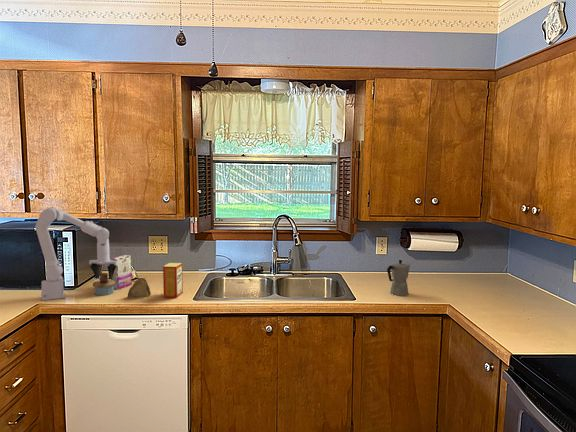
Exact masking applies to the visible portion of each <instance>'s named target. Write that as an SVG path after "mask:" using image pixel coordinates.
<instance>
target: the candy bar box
mask: <svg viewBox="0 0 576 432" xmlns="http://www.w3.org/2000/svg"><path fill="white" fill-rule="evenodd" d="M110 260H113V261H118V265H117V267H116V268H115V271H114V274H113V278H112V279H110V280H113V281H115V285H114V290H120V289H124V288H127V287H129V286H131V285H132V286H133V278H132V277H133V276H132V274H133V273H132V255H128V254H124V255H120V256H117V257H116V256H115V257H112V258H110Z"/></svg>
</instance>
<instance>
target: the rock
mask: <svg viewBox="0 0 576 432" xmlns="http://www.w3.org/2000/svg"><path fill="white" fill-rule="evenodd" d="M148 283H149V282H148V281H147V280H146V278H145V277H139V278H138V279H136V280H135V281H134V283H132V286H131V287H129V290H128V293H127V297H126V298H127V299H133V298H144V297H149V296H151V295H152V293H151V290H150V286H149V284H148Z"/></svg>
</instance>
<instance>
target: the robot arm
mask: <svg viewBox="0 0 576 432" xmlns="http://www.w3.org/2000/svg"><path fill="white" fill-rule="evenodd" d="M55 220H56V221H66V222H68V223H70V224H73V226H77V227H79V228H80V230H81V231H82V232H83V233H84V234H88V235H90V236H92V237H95V238H96V241H97V243H96V255H97V256H96V258H97V259H90V260H88V265H90V269H91V270H92V272H93V274H94V277H95V279H96V280H98V279H100V268H101V265H106V268H107V272H108V273H107V274H108V280H111V279H112V278H113V274H114V271H115V268H116V267H117V265H118V261H113V260H110V259H111V257H110V255H111V253H110V240H109V238H110V231H109V229H107V228H105V227H102V225H98V224H95V223H94V221H93V220H90V221H89V220H85V221H83V220H82V219H79V218H78V217H76V216H74V215H72V214H70V213H68V212H66V211H64V210H63V209H58V208H56V207H55V206H54V207H53V206H52V207H51V206H50V207H47V208H45V209H43V211H41V213H39V215H38V219H37V221H36V223H35V226H34V227H35V231H36V235H37V239H38V241H39V245H40V247H41V248H40V249H41V252H42V255H43V258H44V262H45V269H46V272H45V278H46V280H41V293H40V294H41V301H48V300H58V299H59V300H60V299H64V298H65V296H66V294H65V293H64V277H63V276H62V274H63V273H64V269H63V266H62V265H60V262H59V260H58V259H57V255H56V252H55V248H54V245H53V242H52V238H51V234H50V231H49V227H50V225H51V224H52V223H53V222H54V221H55Z"/></svg>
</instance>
